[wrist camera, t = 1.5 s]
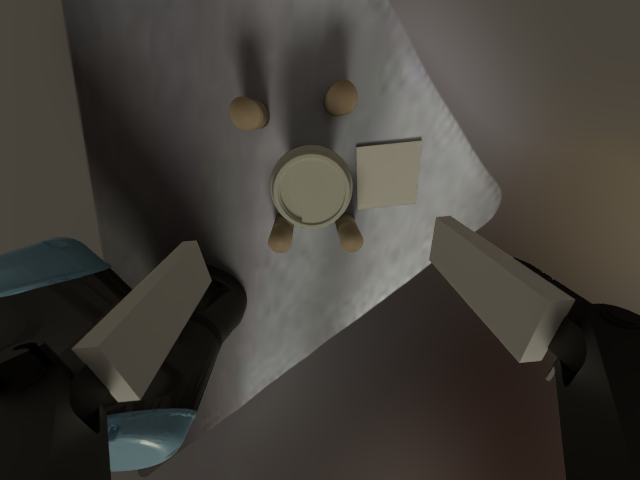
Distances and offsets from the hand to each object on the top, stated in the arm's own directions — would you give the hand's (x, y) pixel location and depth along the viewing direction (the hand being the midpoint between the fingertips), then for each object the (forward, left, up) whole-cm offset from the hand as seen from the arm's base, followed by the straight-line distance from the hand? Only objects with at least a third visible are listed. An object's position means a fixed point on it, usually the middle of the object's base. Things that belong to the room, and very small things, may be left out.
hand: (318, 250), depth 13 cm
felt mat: (+11, -2, -23) cm, 25 cm away
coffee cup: (0, 0, -23) cm, 23 cm away
